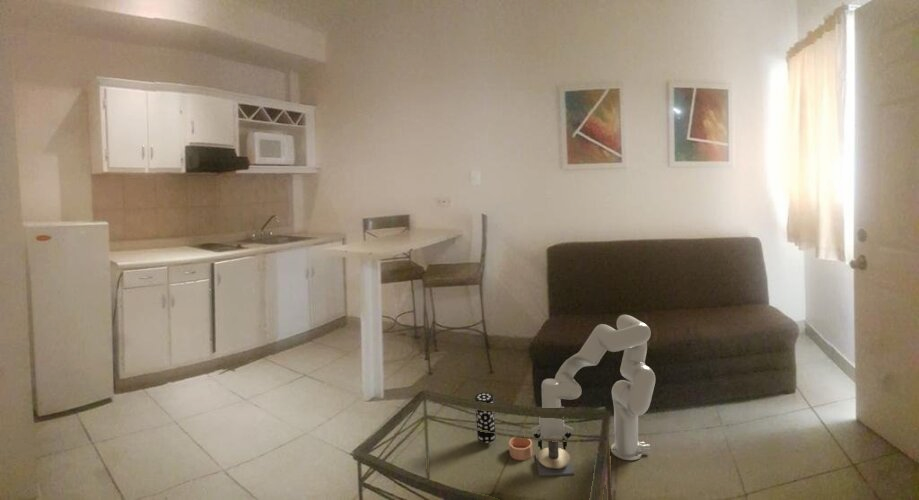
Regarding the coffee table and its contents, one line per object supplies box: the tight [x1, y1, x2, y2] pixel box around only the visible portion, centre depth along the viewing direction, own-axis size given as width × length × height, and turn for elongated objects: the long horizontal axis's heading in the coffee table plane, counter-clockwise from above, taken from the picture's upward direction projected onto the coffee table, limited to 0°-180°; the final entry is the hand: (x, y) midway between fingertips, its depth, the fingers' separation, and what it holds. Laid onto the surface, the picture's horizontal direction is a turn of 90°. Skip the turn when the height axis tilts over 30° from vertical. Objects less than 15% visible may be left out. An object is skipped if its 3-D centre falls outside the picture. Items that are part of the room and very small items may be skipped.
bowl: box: [508, 436, 534, 461], centre depth 196 cm, size 10×10×5 cm
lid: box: [537, 437, 571, 468], centre depth 186 cm, size 13×13×8 cm
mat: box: [534, 451, 575, 477], centre depth 187 cm, size 14×14×1 cm
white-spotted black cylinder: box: [474, 392, 497, 444], centre depth 203 cm, size 8×8×20 cm
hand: (552, 447), depth 186 cm, fingers open, 9 cm apart
